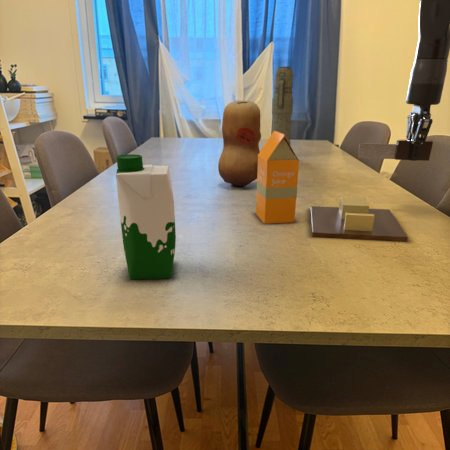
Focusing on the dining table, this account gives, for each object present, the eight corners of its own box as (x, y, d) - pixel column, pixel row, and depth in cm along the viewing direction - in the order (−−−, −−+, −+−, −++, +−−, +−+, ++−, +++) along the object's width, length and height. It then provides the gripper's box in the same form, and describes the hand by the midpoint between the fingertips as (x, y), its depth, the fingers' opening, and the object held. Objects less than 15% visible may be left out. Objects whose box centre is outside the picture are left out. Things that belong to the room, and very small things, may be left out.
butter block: (362, 211, 109) (364, 197, 108) (367, 220, 102) (369, 206, 101) (338, 210, 110) (340, 196, 109) (341, 219, 103) (343, 204, 102)
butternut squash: (223, 191, 132) (223, 102, 121) (215, 182, 144) (214, 99, 132) (266, 189, 135) (270, 101, 123) (255, 180, 146) (257, 99, 135)
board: (388, 213, 112) (389, 209, 111) (406, 241, 92) (407, 237, 92) (310, 209, 114) (310, 206, 114) (312, 236, 95) (312, 232, 95)
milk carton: (129, 262, 82) (118, 152, 72) (177, 261, 82) (172, 151, 73) (124, 282, 74) (109, 161, 65) (177, 280, 74) (170, 160, 65)
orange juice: (284, 212, 112) (289, 130, 103) (295, 222, 104) (301, 134, 95) (255, 213, 111) (257, 130, 102) (263, 223, 103) (267, 135, 94)
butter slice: (371, 229, 96) (373, 214, 95) (372, 231, 95) (374, 216, 94) (343, 228, 97) (345, 212, 96) (344, 230, 96) (346, 214, 94)
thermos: (268, 157, 188) (272, 66, 172) (270, 153, 198) (274, 67, 182) (289, 158, 186) (295, 66, 170) (290, 154, 197) (295, 67, 181)
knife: (426, 159, 108) (430, 140, 106) (429, 160, 106) (433, 141, 104) (357, 157, 110) (359, 138, 108) (358, 158, 108) (361, 139, 106)
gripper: (453, 82, 93) (435, 164, 101) (434, 81, 105) (419, 155, 113) (417, 82, 94) (402, 163, 102) (403, 81, 106) (390, 154, 114)
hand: (411, 159), depth 108 cm, fingers closed on knife, 2 cm apart
